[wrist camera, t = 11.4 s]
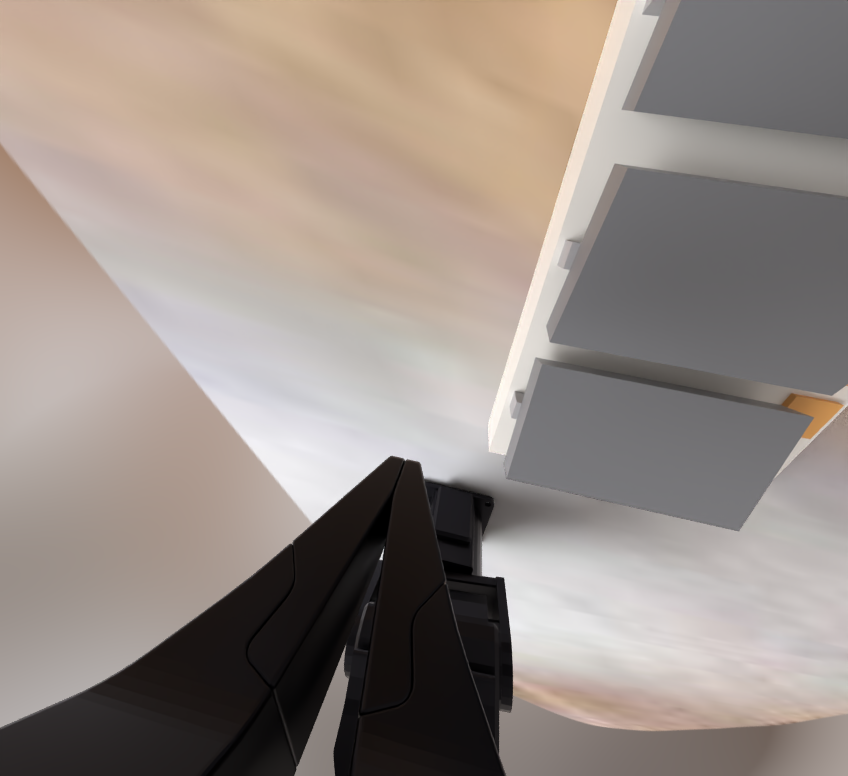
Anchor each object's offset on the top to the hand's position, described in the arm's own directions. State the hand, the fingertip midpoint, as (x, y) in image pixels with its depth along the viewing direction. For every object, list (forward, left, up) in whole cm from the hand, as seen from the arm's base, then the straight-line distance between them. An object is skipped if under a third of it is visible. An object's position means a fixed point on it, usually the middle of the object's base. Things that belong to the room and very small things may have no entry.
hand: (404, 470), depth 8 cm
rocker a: (-2, -10, -8) cm, 13 cm away
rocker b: (+5, -10, -8) cm, 14 cm away
